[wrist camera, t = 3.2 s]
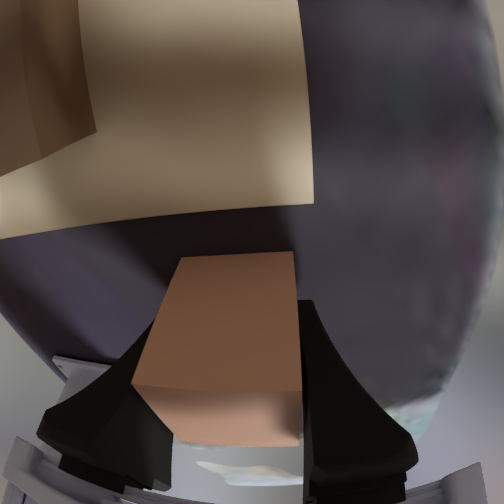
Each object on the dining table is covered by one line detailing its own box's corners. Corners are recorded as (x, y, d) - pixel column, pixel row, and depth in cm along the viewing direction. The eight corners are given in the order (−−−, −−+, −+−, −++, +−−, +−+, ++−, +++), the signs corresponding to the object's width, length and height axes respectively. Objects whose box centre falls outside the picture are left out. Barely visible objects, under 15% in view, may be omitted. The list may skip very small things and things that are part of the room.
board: (311, 196, 10) (313, 203, 9) (5, 233, 12) (-2, 239, 11) (278, -88, 4) (277, -96, 3) (-38, 56, 6) (-46, 58, 5)
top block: (295, 328, 14) (298, 445, 9) (204, 330, 14) (180, 440, 9) (292, 251, 11) (302, 390, 6) (181, 257, 12) (131, 383, 7)
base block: (96, 132, 8) (42, 159, 6) (3, 168, 9) (-42, 198, 7) (77, -14, 5) (22, -25, 3) (-18, 54, 6) (-66, 66, 3)
